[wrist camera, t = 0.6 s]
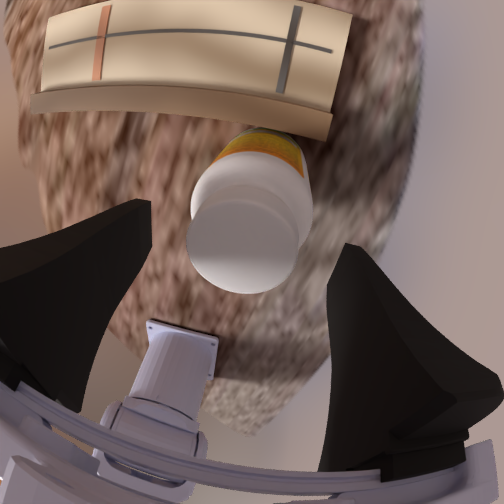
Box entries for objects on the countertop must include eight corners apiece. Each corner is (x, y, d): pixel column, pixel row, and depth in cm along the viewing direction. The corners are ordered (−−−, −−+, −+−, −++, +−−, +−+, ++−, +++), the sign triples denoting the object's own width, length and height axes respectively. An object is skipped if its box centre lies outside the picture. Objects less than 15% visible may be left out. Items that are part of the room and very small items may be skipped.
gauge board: (321, 133, 16) (325, 142, 14) (50, 107, 16) (30, 114, 14) (348, 18, 11) (357, 10, 9) (58, 18, 11) (38, 17, 9)
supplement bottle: (209, 146, 17) (138, 214, 9) (286, 113, 15) (284, 152, 8) (244, 213, 20) (211, 318, 12) (317, 189, 18) (336, 289, 10)
